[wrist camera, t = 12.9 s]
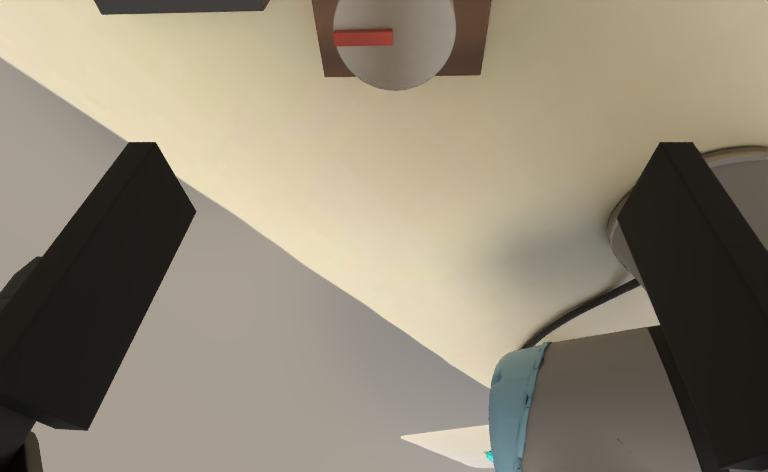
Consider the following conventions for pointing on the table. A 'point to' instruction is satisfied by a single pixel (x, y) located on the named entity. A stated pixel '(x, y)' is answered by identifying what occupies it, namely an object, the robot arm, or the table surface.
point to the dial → (394, 40)
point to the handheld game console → (490, 456)
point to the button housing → (177, 6)
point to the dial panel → (463, 59)
